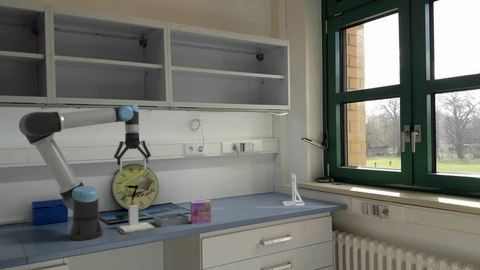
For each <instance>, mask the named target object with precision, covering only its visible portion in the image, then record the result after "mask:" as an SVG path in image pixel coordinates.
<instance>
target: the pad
mask: <svg viewBox="0 0 480 270" xmlns="http://www.w3.org/2000/svg"><path fill="white" fill-rule="evenodd" d="M149 224H150V225H152V224H151V223H149ZM115 228H116V230H117V231H118V232H119V233H121V235H129V234H130V235H131V234H132V233H137V232H144V231H150V230H156V229H158V228H157V227H156V226H154V228H151V229H144V230H138V231H131V232H124V231H122V230H121V229H120V228H119V226H118V227H115Z"/></svg>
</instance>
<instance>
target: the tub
mask: <svg viewBox="0 0 480 270" xmlns="http://www.w3.org/2000/svg"><path fill="white" fill-rule="evenodd" d="M178 216H182V217H180V218H177V217H178ZM164 218H168V219H166V220H163V219H164ZM189 221H190V220H189V215H186V214H184V213H181V212H174V213H167V214H160V215H154V216H153V223H154V224H156V226H157V225H158V226H159V227H161V228H166V227H172V226H179V225H184V224H185V225H186V224H189Z"/></svg>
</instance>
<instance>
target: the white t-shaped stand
mask: <svg viewBox="0 0 480 270" xmlns="http://www.w3.org/2000/svg"><path fill="white" fill-rule="evenodd" d="M127 206H128V224H125V225H119V226H118V227H119V228H120V229H121V230H122V231H124V232H131V231H138V230H144V229H151V228H154V227H155V226H154V225H152V224H151V223H149V222H139V204H133V205H127ZM150 224H151V225H150ZM151 230H152V229H151ZM144 231H145V230H144ZM138 232H139V231H138ZM131 233H132V232H131Z"/></svg>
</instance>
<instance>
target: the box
mask: <svg viewBox="0 0 480 270" xmlns="http://www.w3.org/2000/svg"><path fill="white" fill-rule="evenodd" d="M211 205H212V202H211V200H210V199H206V200H205V199H204V200H193V201H190V223H191V224H192V225H198V224H209V223H212V206H211Z"/></svg>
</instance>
